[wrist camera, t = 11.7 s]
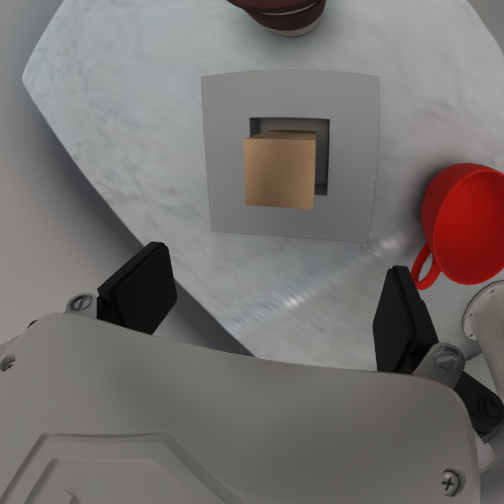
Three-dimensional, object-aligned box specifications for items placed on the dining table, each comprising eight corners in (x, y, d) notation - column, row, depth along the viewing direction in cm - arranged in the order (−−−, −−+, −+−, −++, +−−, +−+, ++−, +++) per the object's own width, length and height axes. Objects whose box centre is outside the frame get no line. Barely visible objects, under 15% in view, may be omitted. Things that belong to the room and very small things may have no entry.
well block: (369, 82, 25) (379, 76, 20) (361, 224, 34) (367, 243, 29) (218, 81, 29) (201, 76, 24) (226, 215, 37) (211, 231, 33)
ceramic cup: (367, 228, 34) (381, 268, 25) (445, 131, 25) (486, 141, 16) (426, 280, 35) (447, 325, 26) (497, 197, 26) (537, 225, 17)
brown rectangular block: (316, 130, 29) (315, 140, 17) (315, 171, 32) (313, 209, 20) (273, 129, 30) (243, 139, 18) (274, 169, 33) (245, 205, 21)
